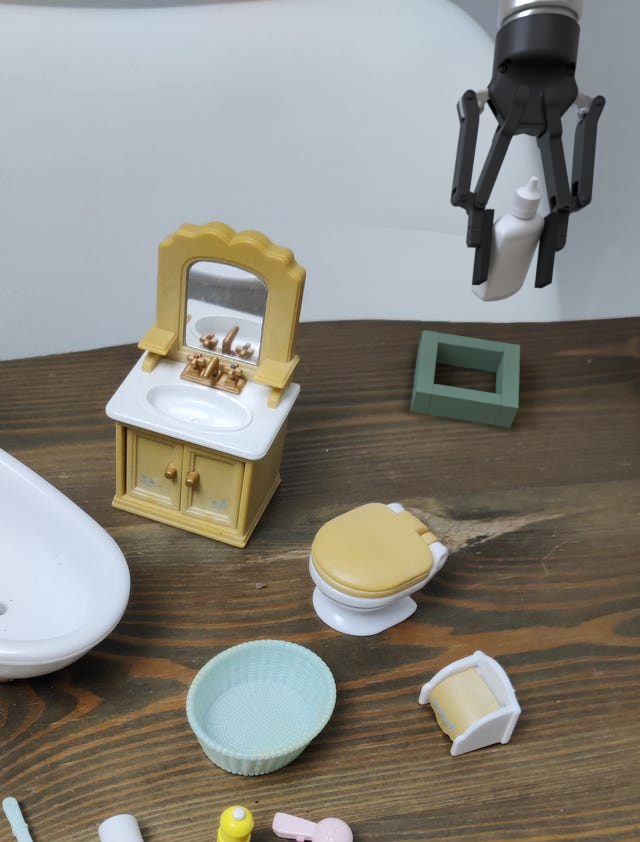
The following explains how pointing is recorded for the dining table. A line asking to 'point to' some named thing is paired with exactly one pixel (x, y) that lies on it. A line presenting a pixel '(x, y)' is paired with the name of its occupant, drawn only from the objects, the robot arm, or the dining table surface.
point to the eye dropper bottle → (513, 245)
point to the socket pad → (461, 400)
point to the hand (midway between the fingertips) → (511, 283)
